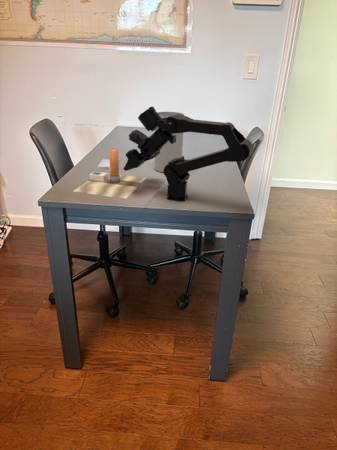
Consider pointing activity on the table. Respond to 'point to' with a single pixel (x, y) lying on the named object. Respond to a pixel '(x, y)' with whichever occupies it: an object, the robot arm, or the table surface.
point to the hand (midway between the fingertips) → (130, 166)
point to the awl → (114, 166)
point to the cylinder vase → (169, 147)
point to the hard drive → (104, 164)
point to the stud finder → (98, 176)
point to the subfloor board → (112, 186)
